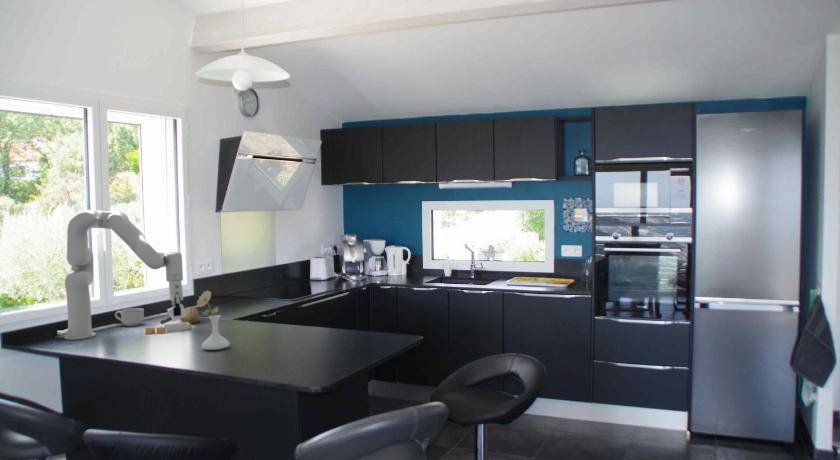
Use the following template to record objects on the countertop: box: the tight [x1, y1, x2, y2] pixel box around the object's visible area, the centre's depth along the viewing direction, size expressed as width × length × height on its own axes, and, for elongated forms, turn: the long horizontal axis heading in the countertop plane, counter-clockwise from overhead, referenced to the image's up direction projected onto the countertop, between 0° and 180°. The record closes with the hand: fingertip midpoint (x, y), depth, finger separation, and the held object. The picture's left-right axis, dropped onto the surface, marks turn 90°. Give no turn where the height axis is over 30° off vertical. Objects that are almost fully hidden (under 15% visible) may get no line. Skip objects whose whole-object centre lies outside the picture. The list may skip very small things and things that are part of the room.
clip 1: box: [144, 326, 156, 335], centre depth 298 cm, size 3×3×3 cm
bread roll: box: [179, 306, 200, 325], centre depth 324 cm, size 10×15×8 cm, turn 26°
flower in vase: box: [196, 290, 230, 351], centre depth 260 cm, size 13×11×25 cm
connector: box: [159, 303, 187, 325], centre depth 303 cm, size 12×4×6 cm, turn 120°
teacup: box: [114, 307, 145, 327], centre depth 320 cm, size 14×11×8 cm
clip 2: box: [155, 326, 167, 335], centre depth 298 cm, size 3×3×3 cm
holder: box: [163, 322, 192, 333], centre depth 305 cm, size 11×8×2 cm
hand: (176, 314), depth 304 cm, fingers closed on connector, 3 cm apart
